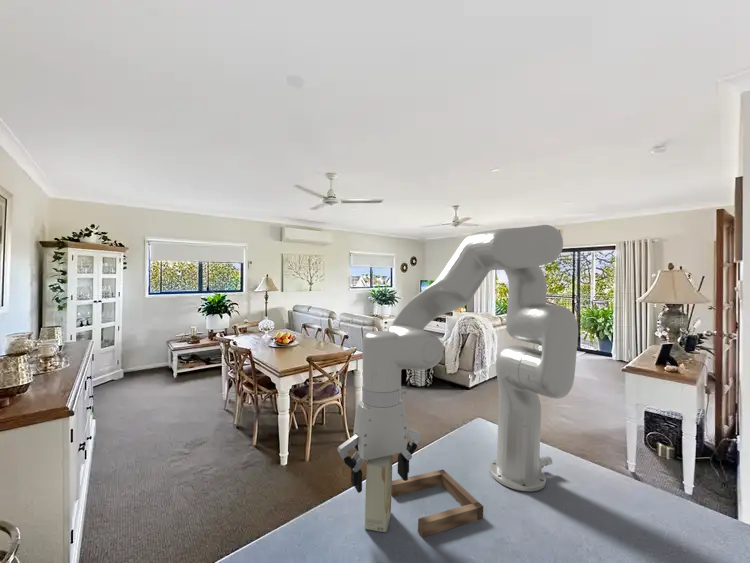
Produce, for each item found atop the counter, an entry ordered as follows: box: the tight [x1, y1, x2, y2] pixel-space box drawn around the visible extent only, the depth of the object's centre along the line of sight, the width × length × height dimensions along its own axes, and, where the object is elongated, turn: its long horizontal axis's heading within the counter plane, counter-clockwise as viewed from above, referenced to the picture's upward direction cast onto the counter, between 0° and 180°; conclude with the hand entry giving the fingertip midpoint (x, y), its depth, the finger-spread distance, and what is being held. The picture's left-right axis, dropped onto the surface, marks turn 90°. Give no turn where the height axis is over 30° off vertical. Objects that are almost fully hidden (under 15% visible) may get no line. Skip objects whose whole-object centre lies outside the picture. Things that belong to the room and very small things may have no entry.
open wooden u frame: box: [391, 469, 484, 538], centre depth 72 cm, size 14×14×2 cm
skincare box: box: [364, 455, 394, 533], centre depth 67 cm, size 6×4×12 cm
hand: (380, 482), depth 67 cm, fingers open, 9 cm apart
